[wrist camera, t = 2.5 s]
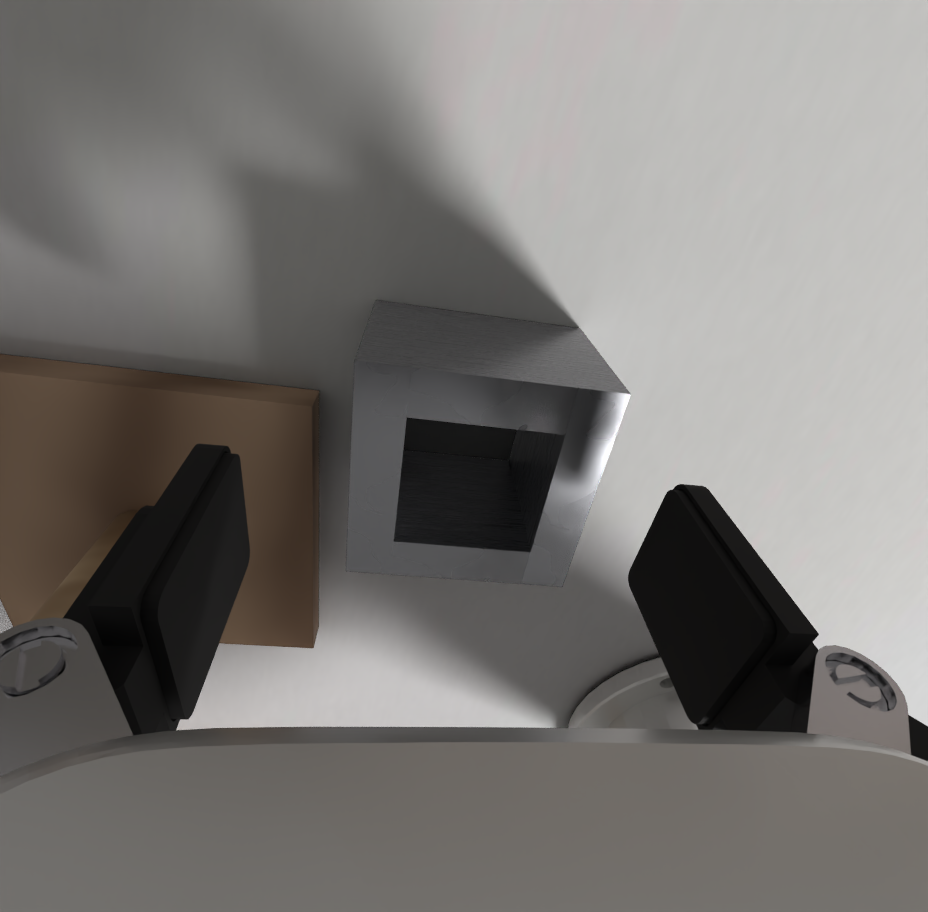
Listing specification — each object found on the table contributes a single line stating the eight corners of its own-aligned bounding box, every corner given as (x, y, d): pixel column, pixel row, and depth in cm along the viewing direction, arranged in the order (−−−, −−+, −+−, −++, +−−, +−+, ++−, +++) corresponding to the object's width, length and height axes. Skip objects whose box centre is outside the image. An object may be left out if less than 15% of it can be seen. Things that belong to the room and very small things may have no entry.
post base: (319, 390, 17) (245, 555, 10) (318, 626, 23) (272, 824, 17) (-78, 345, 16) (-464, 503, 9) (35, 609, 22) (-142, 820, 15)
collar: (580, 328, 16) (630, 394, 12) (534, 491, 20) (562, 586, 16) (375, 300, 16) (354, 360, 11) (365, 475, 19) (345, 571, 15)
